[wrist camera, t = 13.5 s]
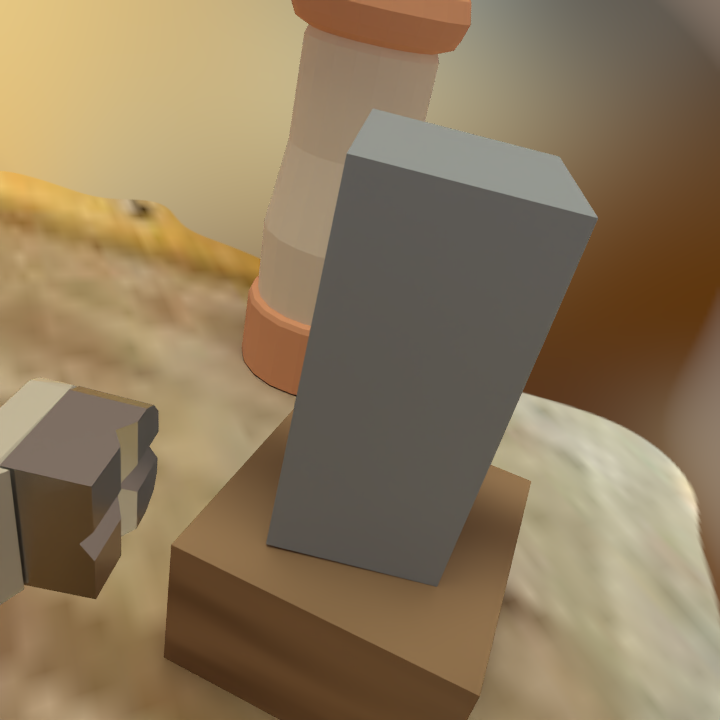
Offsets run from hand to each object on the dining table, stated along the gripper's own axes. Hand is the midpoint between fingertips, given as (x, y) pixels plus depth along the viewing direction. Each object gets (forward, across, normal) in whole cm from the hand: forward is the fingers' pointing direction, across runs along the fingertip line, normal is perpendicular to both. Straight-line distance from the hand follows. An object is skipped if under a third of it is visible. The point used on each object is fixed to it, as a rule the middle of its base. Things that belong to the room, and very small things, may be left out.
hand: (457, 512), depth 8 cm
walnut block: (+7, 0, +12) cm, 14 cm away
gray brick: (+7, +1, +7) cm, 10 cm away
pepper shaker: (+22, +4, +12) cm, 25 cm away
